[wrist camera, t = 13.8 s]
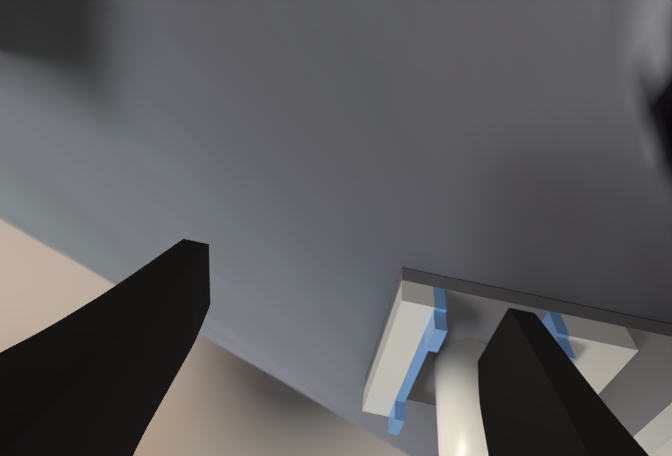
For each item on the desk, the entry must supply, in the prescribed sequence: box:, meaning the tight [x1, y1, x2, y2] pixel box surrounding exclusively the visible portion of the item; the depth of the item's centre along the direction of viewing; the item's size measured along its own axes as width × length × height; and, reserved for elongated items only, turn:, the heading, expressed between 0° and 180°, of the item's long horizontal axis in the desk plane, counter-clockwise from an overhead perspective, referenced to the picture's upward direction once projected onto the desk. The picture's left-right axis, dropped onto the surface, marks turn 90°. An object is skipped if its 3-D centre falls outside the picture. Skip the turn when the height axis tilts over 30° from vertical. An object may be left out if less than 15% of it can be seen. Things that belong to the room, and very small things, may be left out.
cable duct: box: [362, 268, 672, 456], centre depth 24 cm, size 20×10×4 cm, turn 81°
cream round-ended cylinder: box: [434, 339, 489, 456], centre depth 22 cm, size 4×4×8 cm
